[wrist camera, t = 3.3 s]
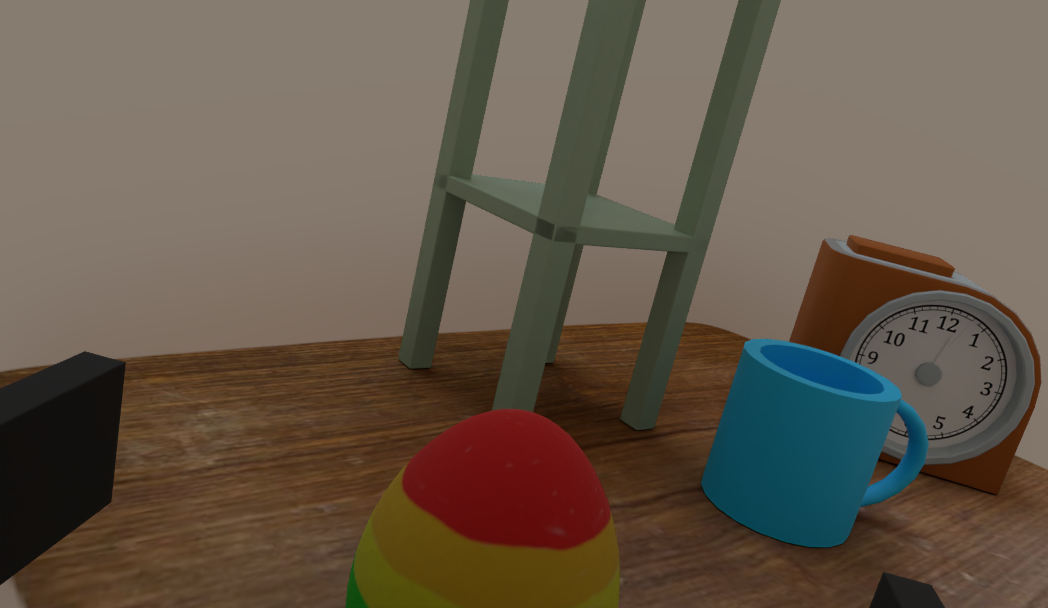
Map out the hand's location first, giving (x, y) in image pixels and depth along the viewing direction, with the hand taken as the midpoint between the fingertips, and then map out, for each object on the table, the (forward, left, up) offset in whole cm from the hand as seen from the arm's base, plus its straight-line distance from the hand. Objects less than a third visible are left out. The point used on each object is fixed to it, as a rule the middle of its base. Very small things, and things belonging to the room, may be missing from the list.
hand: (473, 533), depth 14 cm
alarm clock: (+49, +16, -12) cm, 53 cm away
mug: (+33, +11, -12) cm, 37 cm away
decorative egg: (+7, +7, -12) cm, 15 cm away
